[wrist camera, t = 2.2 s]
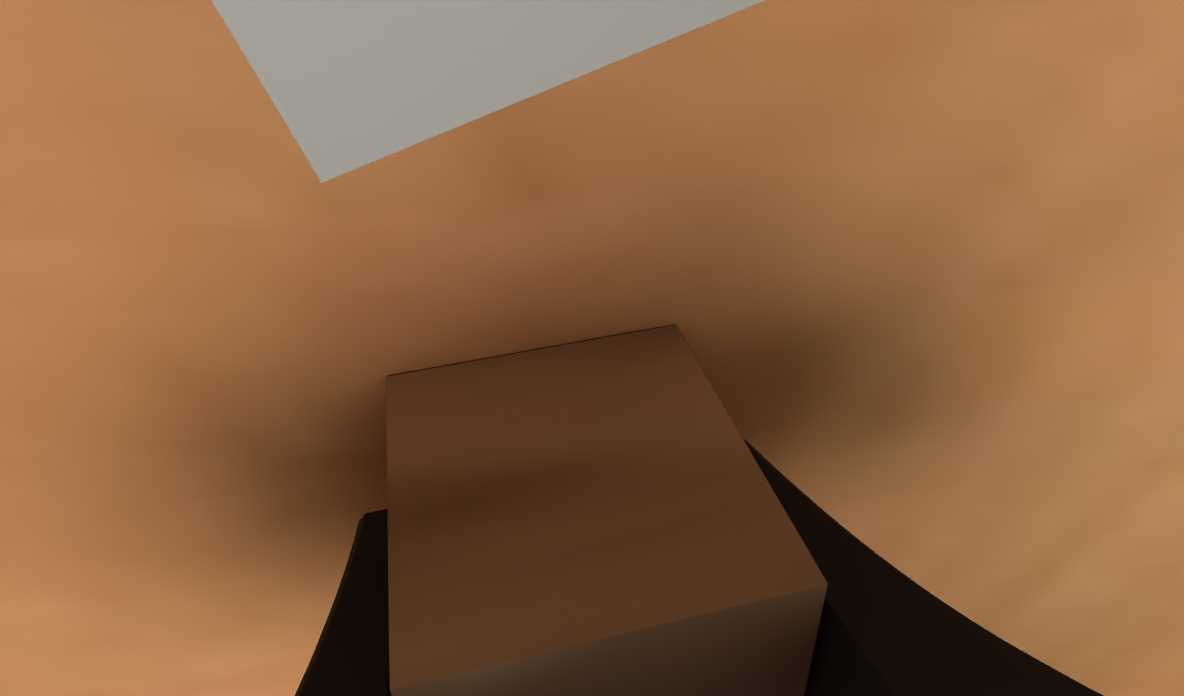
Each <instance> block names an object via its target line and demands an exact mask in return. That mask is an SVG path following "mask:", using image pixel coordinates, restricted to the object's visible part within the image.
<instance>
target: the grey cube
mask: <svg viewBox="0 0 1184 696" xmlns="http://www.w3.org/2000/svg"><path fill="white" fill-rule="evenodd" d="M211 1H212V2H213V4H214V6H215V7H216V9H217V10H218V12H219V14H220V15H221V17H222V19H223V20H224V22H225V24H226V25H227V27H228V29H229V30H230V32H231V34H232V35H233V37H234V39H235V40H236V42H237V44H238V45H239V47H240V49H241V50H242V52H243V54H244V55H245V57H246V58H247V60H248V62H249V63H250V65H251V67H252V68H253V70H254V72H255V73H256V75H257V77H258V78H259V80H260V82H261V83H262V85H263V87H264V88H265V90H266V92H267V93H268V95H269V97H270V98H271V100H272V102H273V103H274V105H275V107H276V108H277V110H278V111H279V113H280V115H281V116H282V118H283V120H284V121H285V123H286V125H287V126H288V128H289V130H290V131H291V133H292V135H293V136H294V138H295V140H296V141H297V143H298V145H299V146H300V148H301V150H302V151H303V153H304V155H305V156H306V158H307V159H308V161H309V163H310V164H311V166H312V168H313V169H314V171H315V173H316V174H317V176H318V178H319V179H320V181H321V183H322V182H325V181H327V180H330V179H332V178H334V177H337V176H339V175H342V174H344V173H347V172H349V171H351V170H354V169H356V168H359V167H361V166H364V165H366V164H368V163H371V162H373V161H376V160H378V159H381V158H383V157H385V156H388V155H390V154H393V153H395V152H398V151H400V150H402V149H405V148H407V147H410V146H412V145H415V144H417V143H419V142H422V141H424V140H427V139H429V138H432V137H434V136H436V135H439V134H441V133H444V132H446V131H449V130H451V129H453V128H456V127H458V126H461V125H463V124H466V123H468V122H470V121H473V120H475V119H478V118H480V117H483V116H485V115H488V114H490V113H492V112H495V111H497V110H500V109H502V108H505V107H507V106H509V105H512V104H514V103H517V102H519V101H522V100H524V99H526V98H529V97H531V96H534V95H536V94H539V93H541V92H543V91H546V90H548V89H551V88H553V87H556V86H558V85H560V84H563V83H565V82H568V81H570V80H573V79H575V78H577V77H580V76H582V75H585V74H587V73H590V72H592V71H594V70H597V69H599V68H602V67H604V66H607V65H609V64H611V63H614V62H616V61H619V60H621V59H624V58H626V57H628V56H631V55H633V54H636V53H638V52H641V51H643V50H645V49H648V48H650V47H653V46H655V45H658V44H660V43H662V42H665V41H667V40H670V39H672V38H675V37H677V36H679V35H682V34H684V33H687V32H689V31H692V30H694V29H696V28H699V27H701V26H704V25H706V24H709V23H711V22H713V21H716V20H718V19H721V18H723V17H726V16H728V15H730V14H733V13H735V12H738V11H740V10H743V9H745V8H747V7H750V6H752V5H755V4H757V3H760V2H762V1H764V0H211Z"/></svg>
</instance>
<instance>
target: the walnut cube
mask: <svg viewBox="0 0 1184 696" xmlns="http://www.w3.org/2000/svg"><path fill="white" fill-rule="evenodd" d="M386 424H387V506H388V588H389V670H390V692H391V695H392V696H804V693H805V688H806V683H807V679H808V674H809V669H810V665H811V660H812V655H813V651H814V646H815V641H816V637H817V632H818V627H819V623H820V618H821V613H822V609H823V604H824V599H825V595H826V590H827V585H828V583H827V581H826V580H825V578H824V576H823V575H822V573H821V571H820V569H819V568H818V566H817V564H816V563H815V561H814V559H813V558H812V556H811V554H810V552H809V551H808V549H807V547H806V546H805V544H804V542H803V540H802V539H801V537H800V535H799V534H798V532H797V530H796V529H795V527H794V525H793V523H792V522H791V520H790V518H789V517H788V515H787V513H786V512H785V510H784V508H783V506H782V505H781V503H780V501H779V500H778V498H777V496H776V494H775V493H774V491H773V489H772V488H771V486H770V484H769V483H768V481H767V479H766V477H765V476H764V474H763V472H762V471H761V469H760V467H759V466H758V464H757V462H756V460H755V459H754V457H753V455H752V454H751V452H750V450H749V448H748V447H747V445H746V443H745V442H744V440H743V438H742V437H741V435H740V433H739V431H738V430H737V428H736V426H735V425H734V423H733V421H732V420H731V418H730V416H729V414H728V413H727V411H726V409H725V408H724V406H723V404H722V402H721V401H720V399H719V397H718V396H717V394H716V392H715V391H714V389H713V387H712V385H711V384H710V382H709V380H708V379H707V377H706V375H705V373H704V372H703V370H702V368H701V367H700V365H699V363H698V362H697V360H696V358H695V356H694V355H693V353H692V351H691V350H690V348H689V346H688V345H687V343H686V341H685V339H684V338H683V336H682V334H681V333H680V331H679V329H678V327H677V326H676V325H672V326H666V327H661V328H655V329H650V330H644V331H638V332H633V333H627V334H622V335H616V336H610V337H605V338H599V339H594V340H588V341H583V342H577V343H571V344H566V345H560V346H555V347H549V348H544V349H538V350H532V351H527V352H521V353H516V354H510V355H504V356H499V357H493V358H488V359H482V360H477V361H471V362H465V363H460V364H454V365H449V366H443V367H437V368H432V369H426V370H421V371H415V372H410V373H404V374H398V375H393V376H387V377H386Z"/></svg>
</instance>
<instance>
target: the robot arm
mask: <svg viewBox="0 0 1184 696" xmlns="http://www.w3.org/2000/svg"><path fill="white" fill-rule="evenodd" d="M743 440H744V439H743ZM744 442H745V443H746V445H747V447H748V448H749V450H750V452H751V454H752V455H753V457H754V459H755V460H756V462H757V464H758V466H759V467H760V469H761V471H762V472H763V474H764V476H765V477H766V479H767V481H768V483H769V484H770V486H771V488H772V489H773V491H774V493H775V494H776V496H777V498H778V500H779V501H780V503H781V505H782V506H783V508H784V510H785V512H786V513H787V515H788V517H789V518H790V520H791V522H792V523H793V525H794V527H795V529H796V530H797V532H798V534H799V535H800V537H801V539H802V540H803V542H804V544H805V546H806V547H807V549H808V551H809V552H810V554H811V556H812V558H813V559H814V561H815V563H816V564H817V566H818V568H819V569H820V571H821V573H822V575H823V576H824V578H825V580H826V581H827V583H828V585H827V590H826V595H825V599H824V604H823V609H822V613H821V618H820V623H819V627H818V632H817V637H816V641H815V646H814V651H813V655H812V660H811V665H810V669H809V674H808V679H807V683H806V688H805V693H804V696H1103V695H1101V694H1099V693H1097V692H1095V691H1093V690H1091V689H1090V688H1088V687H1086V686H1084V685H1082V684H1080V683H1078V682H1076V681H1075V680H1073V679H1071V678H1069V677H1068V676H1066V675H1064V674H1062V673H1060V672H1059V671H1057V670H1055V669H1053V668H1051V667H1050V666H1048V665H1046V664H1044V663H1043V662H1041V661H1039V660H1037V659H1035V658H1034V657H1032V656H1030V655H1028V654H1027V653H1025V652H1023V651H1021V650H1019V649H1018V648H1016V647H1014V646H1012V645H1011V644H1009V643H1007V642H1005V641H1004V640H1002V639H1000V638H999V637H997V636H996V635H994V634H992V633H991V632H989V631H987V630H986V629H984V628H983V627H981V626H979V625H978V624H976V623H975V622H973V621H971V620H970V619H968V618H967V617H965V616H964V615H962V614H961V613H959V612H958V611H956V610H955V609H953V608H952V607H950V606H949V605H947V604H946V603H944V602H943V601H941V600H940V599H938V598H937V597H935V596H934V595H932V594H931V593H929V592H928V591H927V590H925V589H924V588H922V587H921V586H919V585H918V584H917V583H915V582H914V581H912V580H911V579H910V578H908V577H907V576H905V575H904V574H903V573H901V572H900V571H899V570H897V569H896V568H895V567H893V566H892V565H891V564H890V563H888V562H887V561H886V560H884V559H883V558H882V557H880V556H879V555H878V554H876V553H875V552H874V551H872V550H871V549H870V548H869V547H867V546H866V545H865V544H864V543H862V542H861V541H860V540H858V539H857V538H856V537H855V536H854V535H852V534H851V533H850V532H849V531H848V530H846V529H845V528H844V527H843V526H841V525H840V524H839V523H838V522H837V521H835V520H834V519H833V518H832V517H831V516H829V515H828V514H827V513H826V512H825V511H823V510H822V509H821V508H820V507H819V506H818V505H816V504H815V503H814V502H813V501H812V500H811V499H810V498H808V497H807V496H806V495H805V494H804V493H803V492H802V491H800V490H799V489H798V488H797V487H796V486H795V485H794V484H793V483H792V482H790V481H789V480H788V479H787V478H786V477H785V476H784V475H783V474H782V473H780V472H779V471H778V470H777V469H776V468H775V467H774V466H773V465H772V464H771V463H770V462H768V461H767V460H766V459H765V458H764V457H763V456H762V455H761V454H760V453H759V452H758V451H757V450H756V449H754V448H753V447H752V446H751V445H750V444H749V443H748V442H747V441H746V440H744ZM295 696H392V695H391V692H390V670H389V588H388V509H385V510H380V511H375V512H370V513H365V514H364V516H363V517H362V518H361V519H360V520H359V523H358V527H357V531H356V535H355V539H354V542H353V546H352V549H351V552H350V556H349V559H348V562H347V565H346V568H345V571H344V574H343V577H342V580H341V583H340V586H339V589H338V592H337V594H336V597H335V600H334V603H333V605H332V608H331V611H330V613H329V616H328V618H327V621H326V623H325V626H324V628H323V631H322V634H321V636H320V639H319V641H318V644H317V646H316V649H315V651H314V654H313V656H312V658H311V661H310V663H309V665H308V668H307V670H306V672H305V674H304V676H303V679H302V681H301V683H300V685H299V687H298V690H297V692H296V694H295Z"/></svg>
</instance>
